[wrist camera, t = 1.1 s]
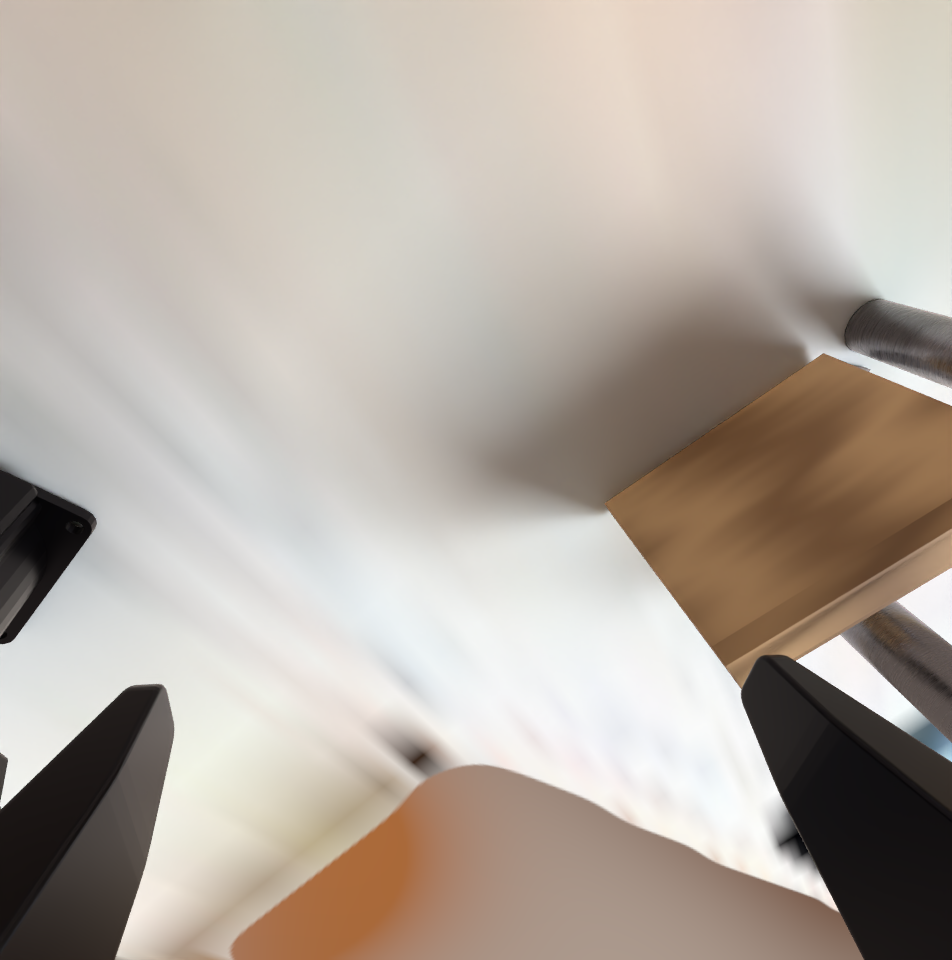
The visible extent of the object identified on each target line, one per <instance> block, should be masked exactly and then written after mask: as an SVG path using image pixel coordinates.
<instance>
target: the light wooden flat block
mask: <svg viewBox="0 0 952 960" xmlns="http://www.w3.org/2000/svg"><path fill="white" fill-rule="evenodd" d="M604 504H605V505H606V507H607V508H608V510H609V511H610V512H611V514H612V515H613V517H614V518H615V519H616V521H617V522H618V524H619V525H620V526H621V528H622V529H623V530H624V532H625V533H626V534H627V536H628V537H629V538H630V540H631V541H632V542H633V544H634V545H635V547H636V548H637V549H638V551H639V552H640V553H641V555H642V556H643V557H644V559H645V560H646V561H647V563H648V564H649V565H650V567H651V568H652V569H653V571H654V572H655V573H656V575H657V576H658V577H659V579H660V580H661V581H662V583H663V584H664V586H665V587H666V588H667V590H668V591H669V592H670V594H671V595H672V596H673V598H674V599H675V600H676V602H677V603H678V604H679V606H680V607H681V608H682V610H683V611H684V612H685V614H686V615H687V616H688V618H689V619H690V620H691V622H692V623H693V625H694V626H695V627H696V629H697V630H698V631H699V633H700V634H701V635H702V637H703V638H704V639H705V641H706V642H707V643H708V645H709V646H710V647H711V649H712V650H713V651H714V653H715V654H716V655H717V657H718V658H719V659H720V661H721V662H722V664H723V665H724V666H725V668H726V669H727V670H728V672H729V673H730V674H731V676H732V677H733V678H734V680H735V681H736V683H737V684H738V685H739V687H740V688H741V689H742V686H743V684H744V682H745V680H746V679H747V677H748V675H749V673H750V671H751V669H752V667H753V665H754V663H755V661H756V660H757V658H759V657H760V656H763V655H778V654H779V655H785V656H788V657H790V658H791V659H793V660H794V661H796V660H798V659H799V658H801V657H803V656H804V655H806V654H808V653H809V652H811V651H813V650H814V649H816V648H818V647H819V646H821V645H823V644H825V643H826V642H828V641H830V640H831V639H833V638H835V637H836V636H838V635H840V634H841V633H843V632H845V631H846V630H848V629H850V628H851V627H853V626H855V625H856V624H858V623H860V622H861V621H863V620H865V619H866V618H868V617H870V616H871V615H873V614H875V613H876V612H878V611H880V610H881V609H883V608H885V607H886V606H888V605H890V604H891V603H893V602H895V601H896V600H898V599H900V598H901V597H903V596H905V595H906V594H908V593H910V592H911V591H913V590H915V589H916V588H918V587H920V586H921V585H923V584H925V583H926V582H928V581H930V580H932V579H933V578H935V577H937V576H938V575H940V574H942V573H943V572H945V571H947V570H948V569H950V568H952V406H950V405H948V404H946V403H943V402H941V401H938V400H936V399H933V398H931V397H929V396H926V395H924V394H921V393H919V392H916V391H914V390H911V389H909V388H907V387H904V386H902V385H899V384H897V383H894V382H892V381H890V380H887V379H885V378H882V377H880V376H877V375H875V374H872V373H870V372H868V371H865V370H863V369H860V368H858V367H855V366H853V365H851V364H848V363H846V362H843V361H841V360H838V359H836V358H833V357H831V356H829V355H826V354H824V353H823V354H822V355H820V356H819V357H818V358H816V359H815V360H813V361H812V362H810V363H809V364H807V365H806V366H804V367H803V368H801V369H800V370H799V371H797V372H796V373H794V374H793V375H791V376H790V377H788V378H787V379H785V380H784V381H782V382H781V383H780V384H778V385H777V386H775V387H774V388H772V389H771V390H769V391H768V392H766V393H765V394H763V395H762V396H761V397H759V398H758V399H756V400H755V401H753V402H752V403H750V404H749V405H747V406H746V407H744V408H743V409H742V410H740V411H739V412H737V413H736V414H734V415H733V416H731V417H730V418H728V419H727V420H725V421H724V422H723V423H721V424H720V425H718V426H717V427H715V428H714V429H712V430H711V431H709V432H708V433H706V434H705V435H704V436H702V437H701V438H699V439H698V440H696V441H695V442H693V443H692V444H690V445H689V446H687V447H686V448H685V449H683V450H682V451H680V452H679V453H677V454H676V455H674V456H673V457H671V458H670V459H668V460H667V461H666V462H664V463H663V464H661V465H660V466H658V467H657V468H655V469H654V470H652V471H651V472H650V473H648V474H647V475H645V476H644V477H642V478H641V479H639V480H638V481H636V482H635V483H633V484H632V485H631V486H629V487H628V488H626V489H625V490H623V491H622V492H620V493H619V494H617V495H616V496H614V497H613V498H612V499H610V500H609V501H607V502H606V503H604Z"/></svg>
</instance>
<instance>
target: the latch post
mask: <svg viewBox="0 0 952 960" xmlns="http://www.w3.org/2000/svg"><path fill="white" fill-rule="evenodd" d="M840 635H841V636H842V637H843V638H844V639H845V640H846V641H847V642H848V643H849V644H850V645H851V646H852V647H853V648H854V649H855V650H856V651H857V652H859V653H860V654H861V655H862V656H863V657H864V658H865V659H866V660H867V661H868V662H869V663H870V664H871V665H872V666H873V667H874V668H875V669H876V670H877V671H878V672H879V673H880V674H881V675H882V676H883V677H884V678H885V679H886V680H888V681H889V682H890V683H891V684H892V685H893V686H894V687H895V688H896V689H897V690H898V691H899V692H900V693H901V694H902V695H903V696H904V697H905V698H906V699H907V700H908V701H909V702H910V703H911V704H912V705H913V706H914V707H915V708H916V709H918V710H919V711H920V712H921V713H922V714H923V715H924V716H925V717H926V718H927V719H928V720H929V721H930V722H931V723H932V724H933V725H934V726H935V727H936V728H937V729H938V730H939V731H940V732H941V733H942V734H943V735H944V736H945V737H946V738H948V739H949V740H950V741H951V742H952V645H950V644H949V643H948V642H947V641H945V640H944V639H943V638H942V637H940V636H939V635H938V634H937V633H936V632H934V631H933V630H932V629H931V628H929V627H928V626H927V625H926V624H924V623H923V622H922V621H921V620H919V619H918V618H917V617H916V616H914V615H913V614H912V613H911V612H909V611H908V610H907V609H906V608H905V607H903V606H902V605H901V604H900V603H898V602H897V601H895V602H893V603H891V604H890V605H888V606H886V607H885V608H883V609H881V610H880V611H878V612H876V613H875V614H873V615H871V616H870V617H868V618H866V619H865V620H863V621H861V622H860V623H858V624H856V625H855V626H853V627H851V628H850V629H848V630H846V631H845V632H843V633H841V634H840Z"/></svg>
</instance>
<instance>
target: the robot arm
mask: <svg viewBox="0 0 952 960" xmlns="http://www.w3.org/2000/svg"><path fill="white" fill-rule="evenodd" d="M71 521H76V522H79V523H80V524H82V526H83V527H77V526H75V525H73V524H72V522H71ZM96 524H97V522H96V518H95V517H94V516H93V514H91V513H90V512H88V511H87V510H85V509H83V508H80V507H78V506H76V505H74V504H72V503H70V502H68V501H66V500H63V499H61V498H59V497H57V496H55V495H53V494H51V493H49V492H46V491H44V490H42V489H40V488H38V487H36V486H34V485H32V484H30V483H27V482H25V481H23V480H21V479H19V478H17V477H15V476H13V475H10V474H8V473H6V472H4V471H2V470H0V644H6V643H9V642H11V641H13V640H14V639H15V637H16V636H17V635H18V633H19V632H20V631H21V629H22V628H23V627H24V625H25V624H26V622H27V621H28V620H29V618H30V617H31V616H32V614H33V613H34V611H35V610H36V609H37V607H38V606H39V605H40V603H41V602H42V601H43V599H44V598H45V596H46V595H47V594H48V592H49V591H50V590H51V588H52V587H53V585H54V584H55V583H56V581H57V580H58V579H59V577H60V576H61V575H62V573H63V572H64V570H65V569H66V568H67V566H68V565H69V564H70V562H71V561H72V559H73V558H74V557H75V555H76V554H77V553H78V551H79V550H80V549H81V547H82V546H83V544H84V543H85V542H86V540H87V539H88V538H89V536H90V535H91V533H92V532H93V530H94V529H95V527H96ZM741 699H742V703H743V706H744V708H745V711H746V713H747V716H748V718H749V721H750V723H751V726H752V728H753V730H754V733H755V735H756V738H757V740H758V743H759V745H760V748H761V750H762V753H763V755H764V757H765V760H766V762H767V765H768V767H769V770H770V772H771V775H772V777H773V780H774V782H775V784H776V786H777V789H778V791H779V793H780V796H781V798H782V800H783V802H784V804H785V806H786V808H787V810H788V812H789V814H790V816H791V818H792V820H793V822H794V824H795V826H796V828H797V830H798V832H799V834H800V836H801V838H802V839H803V841H804V843H805V845H806V847H807V849H808V851H809V853H810V855H811V857H812V859H813V861H814V863H815V865H816V867H817V869H818V871H819V873H820V875H821V877H822V878H823V880H824V882H825V884H826V886H827V888H828V890H829V892H830V894H831V896H832V898H833V900H834V902H835V904H836V906H837V908H838V910H839V912H840V914H841V916H842V917H843V919H844V921H845V923H846V925H847V927H848V929H849V931H850V933H851V935H852V937H853V939H854V941H855V943H856V945H857V947H858V949H859V951H860V953H861V954H862V957H863V958H864V960H952V762H951V761H949V760H948V759H946V758H945V757H943V756H942V755H940V754H938V753H937V752H935V751H934V750H932V749H931V748H929V747H928V746H926V745H924V744H923V743H921V742H920V741H918V740H917V739H915V738H914V737H912V736H911V735H909V734H907V733H906V732H904V731H903V730H901V729H900V728H898V727H897V726H895V725H893V724H892V723H890V722H889V721H887V720H886V719H884V718H883V717H881V716H880V715H878V714H876V713H875V712H873V711H872V710H870V709H869V708H867V707H866V706H864V705H862V704H861V703H859V702H858V701H856V700H855V699H853V698H852V697H850V696H849V695H847V694H845V693H844V692H842V691H841V690H839V689H838V688H836V687H835V686H833V685H831V684H830V683H828V682H827V681H825V680H824V679H822V678H821V677H819V676H818V675H816V674H814V673H813V672H811V671H810V670H808V669H807V668H805V667H804V666H802V665H801V664H799V663H797V662H796V661H794V660H793V659H791V658H790V657H788V656H785V655H779V654H778V655H763V656H760V657H759V658H757V660H756V661H755V663H754V665H753V667H752V669H751V671H750V673H749V675H748V677H747V679H746V680H745V682H744V684H743V686H742V690H741ZM173 738H174V721H173V717H172V712H171V708H170V703H169V699H168V694H167V691H166V688H165V687H164V686H163V685H161V684H148V685H134V686H131V687H129V688H127V689H125V690H124V691H123V692H122V693H121V694H120V695H119V696H118V697H117V698H116V699H115V700H114V701H113V702H112V703H111V704H110V705H109V706H108V707H106V708H105V709H104V710H103V711H102V712H101V713H100V714H99V715H98V716H97V717H96V718H95V719H94V720H93V721H92V722H91V723H90V724H89V725H88V726H87V727H86V728H85V729H84V730H83V731H82V732H81V733H80V734H79V735H78V736H77V737H75V738H74V739H73V740H72V741H71V742H70V743H69V744H68V745H67V746H66V747H65V748H64V749H63V750H62V751H61V752H60V753H59V754H58V755H57V756H56V757H55V758H54V759H53V760H52V761H51V762H50V763H49V764H48V765H47V766H46V767H44V768H43V769H42V770H41V771H40V772H39V773H38V774H37V775H36V776H35V777H34V778H33V779H32V780H31V781H30V782H29V783H28V784H27V785H26V786H25V787H24V788H23V789H22V790H21V791H20V792H19V793H18V794H17V795H16V796H14V797H13V798H12V799H11V800H10V801H9V802H8V803H7V804H6V805H5V806H4V807H3V808H2V809H1V807H0V960H115V957H116V954H117V951H118V948H119V945H120V942H121V939H122V936H123V933H124V930H125V927H126V924H127V921H128V918H129V915H130V912H131V909H132V906H133V903H134V900H135V897H136V894H137V891H138V888H139V885H140V881H141V878H142V875H143V871H144V868H145V865H146V861H147V857H148V852H149V848H150V844H151V840H152V835H153V831H154V826H155V821H156V817H157V812H158V808H159V803H160V799H161V794H162V789H163V785H164V780H165V776H166V771H167V767H168V762H169V757H170V753H171V748H172V744H173ZM7 763H8V759H7V758H6V757H5V756H4V755H3V754H1V753H0V800H1V795H2V789H3V784H4V779H5V773H6V768H7Z"/></svg>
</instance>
